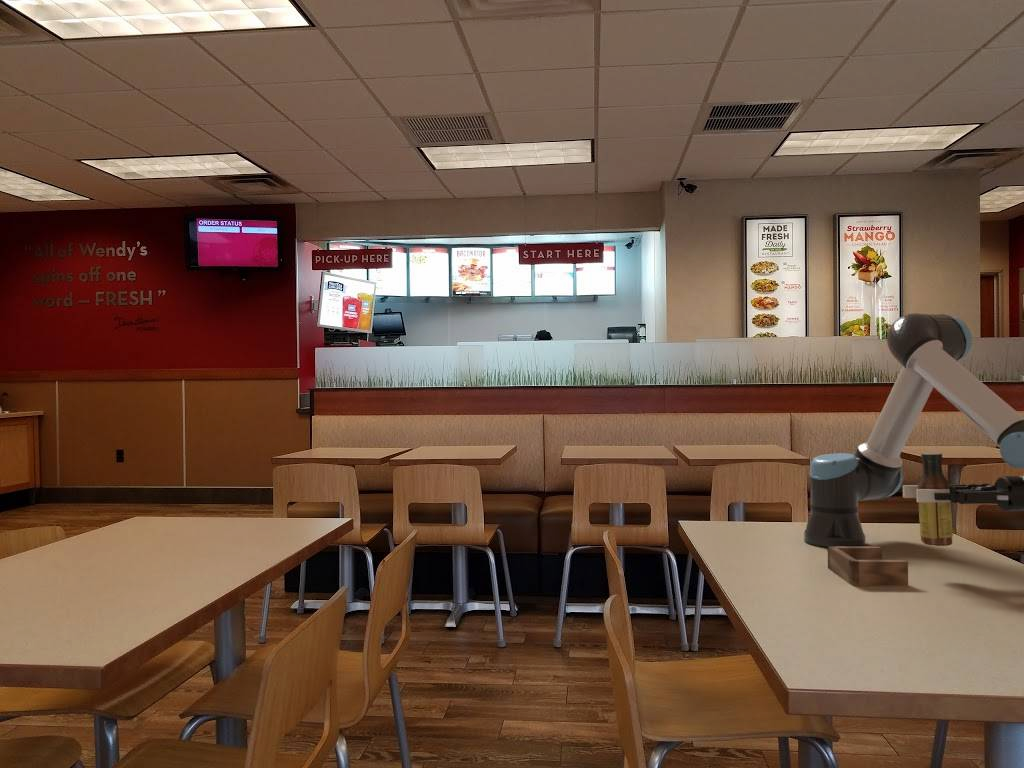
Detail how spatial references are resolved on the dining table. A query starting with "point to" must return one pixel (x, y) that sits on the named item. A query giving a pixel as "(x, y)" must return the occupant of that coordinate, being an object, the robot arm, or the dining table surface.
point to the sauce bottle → (934, 504)
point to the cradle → (866, 566)
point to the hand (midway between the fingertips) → (910, 493)
